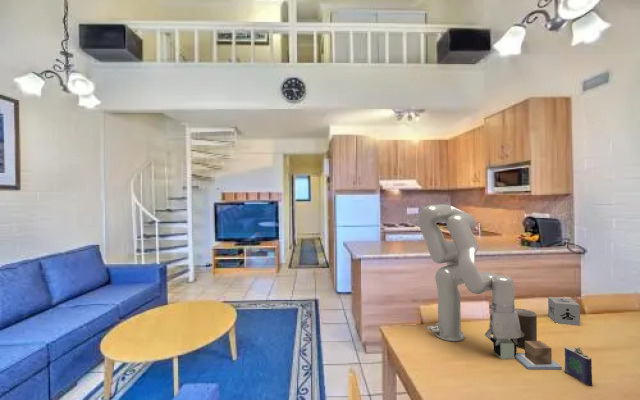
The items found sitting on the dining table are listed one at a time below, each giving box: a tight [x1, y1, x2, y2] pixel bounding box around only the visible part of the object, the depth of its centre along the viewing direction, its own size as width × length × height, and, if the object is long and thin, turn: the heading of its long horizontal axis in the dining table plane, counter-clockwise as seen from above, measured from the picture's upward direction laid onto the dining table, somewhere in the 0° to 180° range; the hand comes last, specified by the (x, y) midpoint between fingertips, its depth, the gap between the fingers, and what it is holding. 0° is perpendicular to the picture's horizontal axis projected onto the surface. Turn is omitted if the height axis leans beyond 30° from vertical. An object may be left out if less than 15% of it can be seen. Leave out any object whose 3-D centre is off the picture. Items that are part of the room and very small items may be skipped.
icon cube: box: [547, 296, 581, 327], centre depth 159 cm, size 10×10×10 cm
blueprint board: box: [514, 352, 563, 371], centre depth 121 cm, size 12×10×1 cm
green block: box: [493, 339, 515, 360], centre depth 126 cm, size 5×5×6 cm
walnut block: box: [524, 340, 553, 365], centre depth 120 cm, size 6×6×6 cm
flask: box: [564, 346, 593, 387], centre depth 110 cm, size 9×3×11 cm, turn 8°
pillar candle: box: [509, 308, 538, 350], centre depth 135 cm, size 10×10×15 cm
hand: (505, 353), depth 126 cm, fingers open, 5 cm apart
